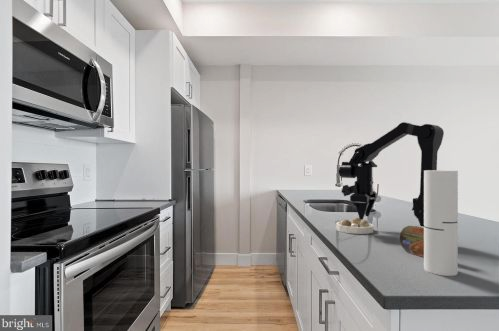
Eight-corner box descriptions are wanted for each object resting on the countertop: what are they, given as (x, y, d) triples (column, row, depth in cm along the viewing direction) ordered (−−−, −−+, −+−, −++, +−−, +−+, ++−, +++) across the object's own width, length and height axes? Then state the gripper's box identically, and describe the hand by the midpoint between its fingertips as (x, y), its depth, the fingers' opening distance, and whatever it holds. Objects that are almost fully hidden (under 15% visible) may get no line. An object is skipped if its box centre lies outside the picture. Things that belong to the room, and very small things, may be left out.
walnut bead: (350, 230, 120) (350, 220, 120) (341, 229, 121) (341, 220, 121) (351, 228, 123) (351, 219, 123) (342, 227, 124) (342, 218, 124)
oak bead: (361, 227, 127) (364, 219, 127) (357, 228, 125) (360, 219, 124) (353, 223, 130) (356, 216, 129) (349, 224, 127) (352, 216, 126)
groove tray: (372, 235, 114) (372, 228, 114) (334, 231, 120) (334, 225, 120) (373, 228, 127) (373, 222, 127) (339, 225, 133) (338, 219, 133)
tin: (399, 250, 94) (399, 223, 94) (406, 249, 95) (406, 222, 95) (448, 265, 80) (448, 233, 80) (455, 263, 82) (455, 232, 82)
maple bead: (368, 228, 123) (368, 219, 123) (370, 230, 119) (370, 220, 119) (358, 228, 123) (358, 219, 123) (360, 229, 120) (361, 220, 120)
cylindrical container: (463, 276, 72) (463, 171, 72) (430, 274, 73) (430, 170, 73) (449, 266, 79) (449, 170, 79) (419, 265, 80) (419, 170, 80)
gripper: (350, 177, 133) (350, 213, 134) (336, 179, 118) (336, 219, 118) (377, 178, 127) (377, 215, 127) (366, 179, 112) (366, 222, 112)
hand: (364, 217), depth 121 cm, fingers open, 9 cm apart
